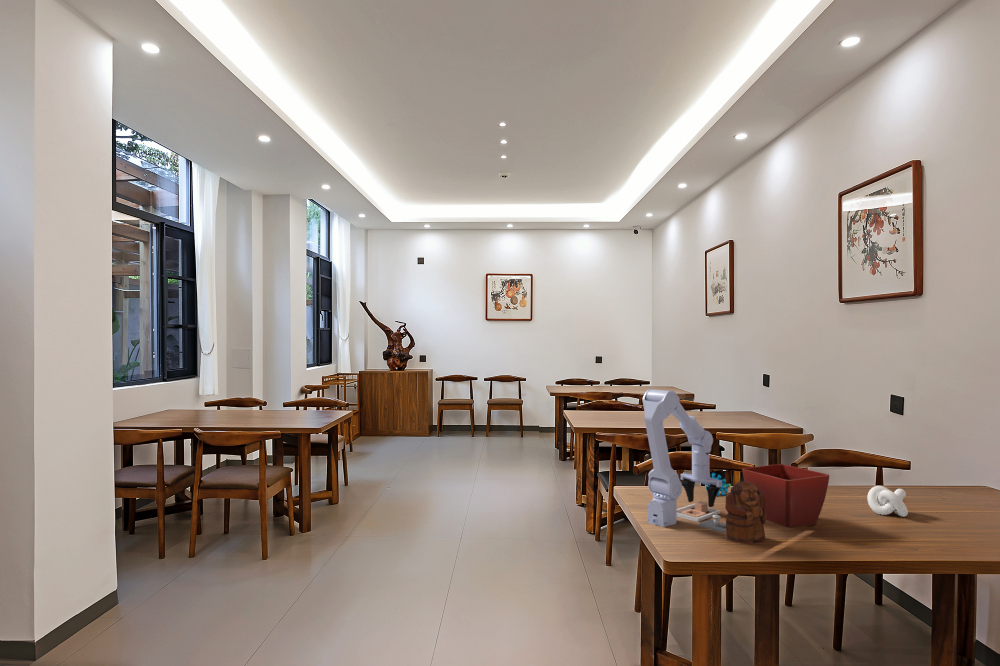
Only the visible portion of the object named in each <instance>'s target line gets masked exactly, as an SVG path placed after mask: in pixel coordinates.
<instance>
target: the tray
mask: <svg viewBox="0 0 1000 666" xmlns="http://www.w3.org/2000/svg"><path fill="white" fill-rule="evenodd" d="M688 509H695V503H692V504H689V505H685V506H683V507H680V508H677V518H678V517H679V518H682V519H686V520H690V521H694V522H698V523H699V522H702V521H705V520H706V519H707V520H708V519H710V518H713V515H719V514H720V515H721V510H720V509H715V508H713V507H708V512H709V513H706V515H704V516H701V517H698V518H696V517H692V516H688V515H685V514H681V512H683V511H686V510H688Z"/></svg>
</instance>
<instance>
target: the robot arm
mask: <svg viewBox="0 0 1000 666" xmlns="http://www.w3.org/2000/svg"><path fill="white" fill-rule="evenodd" d="M641 401H642V405H643V410H644V423H645V429H646V430H645V431H646V434H647V439H648V446H649V451H650V456H651V460H652V467H653V468H652V469H651V470H650V471H649V472H648V483H647V486H648V490H649V491H650V493H651V496H653V498H652V499H651V500H650V501H649V502H648V504H647V523H648V524H651V525H655V526H659V527H662V528H665V527H668V526H673V525H676V524H677V520H678V516H677V509H678V507H677V506H678V504H677V500H678V499H679V497H680V496H681V495H682V493H683V489H684V491H685V493H686V497H687V501H688V503H692V502H694V499H695V496H694V495H695V493H694V491H695V484H696V483H699V484H702V485H704V484H708V485H710V486H708V485H706V486H707V487H706V486H705V487H706V488H707V490H706V491H707V492H706V493H707V498H708V499H707V501H708V502H707V505H708V508H713V507H714V506H715V501H716V498H717V497H718V496H717V493H718V492H719V493H720V491H719V490H720V488H721V487H722V483H723V482H722V481H720V480H721V479H719V480H717V479H713V478H712V477H711V474H710V453H711V451H712V445H713V442H714V438H713V435H712V433H711V432H710V431H709V430H705V428H704V427H703V426H702V425H701V424H700V423H699V421H698V420H697V418H696V416H694V415H693V416H692V415H688V413H687V411H686V409H684V407H683V405H682V404H681V402H680V396H679V395H677V393H676V391H674V390H661V389H654V388H649V389H647V390H646V391H645V392H644V395H643V397H642V400H641ZM670 415H672V416H674V418H675V419H677V420H678V422H679V427H680V428H681V431H683V432H684V433H685V434H686V437H687V441H688V444H690V445H691V473H684V472H683V473H680V477H679V474H678V472H676V470H674V469H673V467H672V465H671V460H670V454H669V449H668V444H667V438H666V434H665V433H666V432H665V427H664V420H665V419H668V418H669V417H670ZM710 477H711V478H710ZM681 480H682V481H681Z"/></svg>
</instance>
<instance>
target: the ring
mask: <svg viewBox="0 0 1000 666" xmlns="http://www.w3.org/2000/svg"><path fill="white" fill-rule="evenodd" d="M694 504H695V508H691V509H688V510H685V511H682V512H680V513H681V514H685V515H688V516H692V517H696V518H698V517H701V516H704V515H706V514H707V512H709V511H708V508H709V505H708V502H705V501H703V500H702V501H701V500H700V501H698V502H695V503H694Z"/></svg>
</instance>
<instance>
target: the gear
mask: <svg viewBox="0 0 1000 666" xmlns="http://www.w3.org/2000/svg"><path fill="white" fill-rule="evenodd" d="M716 476H717V477H716ZM710 478H713V479H717V480H720V481H722V487H721V488H720V490H719V492H718V493H717V496H716V497H720V495H721V496H726V493H727V492H728V493H729V488H731V487H732V484H731V483H726V482H727V480H726V478H723V479H722V476H721V474H717V475H716V473H715V472H712V473H711V476H710ZM703 485H704V486H705V485H706V486H705V490H706V491H707V488H706V487H707V486H710V485H708V484H703ZM720 492H721V493H720ZM728 493H727V494H728Z"/></svg>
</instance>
